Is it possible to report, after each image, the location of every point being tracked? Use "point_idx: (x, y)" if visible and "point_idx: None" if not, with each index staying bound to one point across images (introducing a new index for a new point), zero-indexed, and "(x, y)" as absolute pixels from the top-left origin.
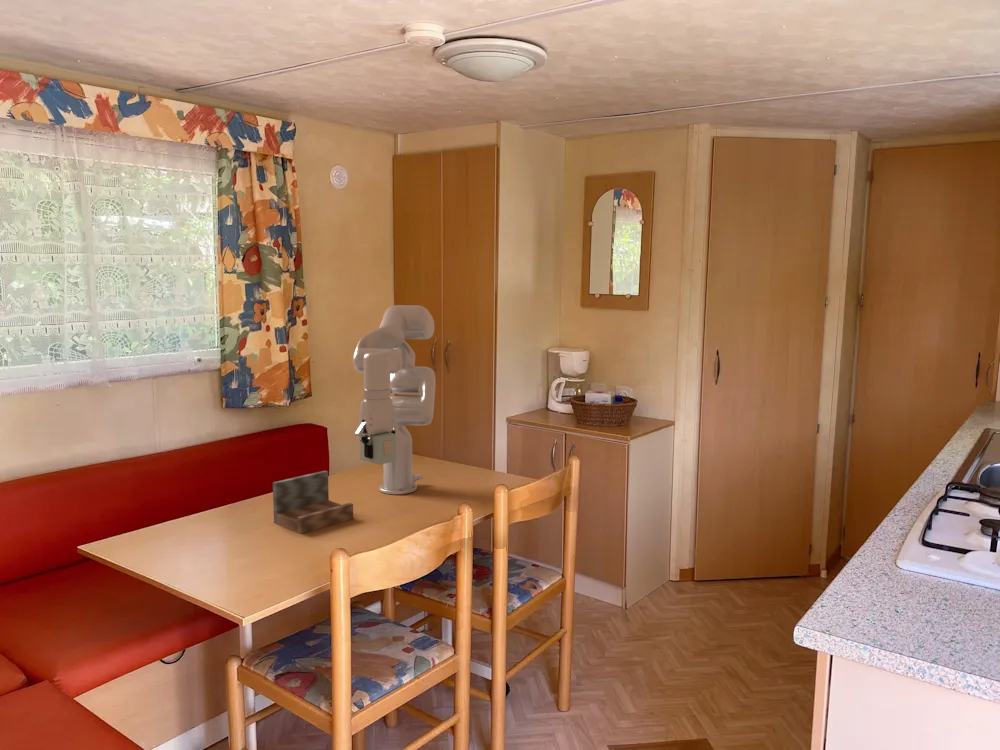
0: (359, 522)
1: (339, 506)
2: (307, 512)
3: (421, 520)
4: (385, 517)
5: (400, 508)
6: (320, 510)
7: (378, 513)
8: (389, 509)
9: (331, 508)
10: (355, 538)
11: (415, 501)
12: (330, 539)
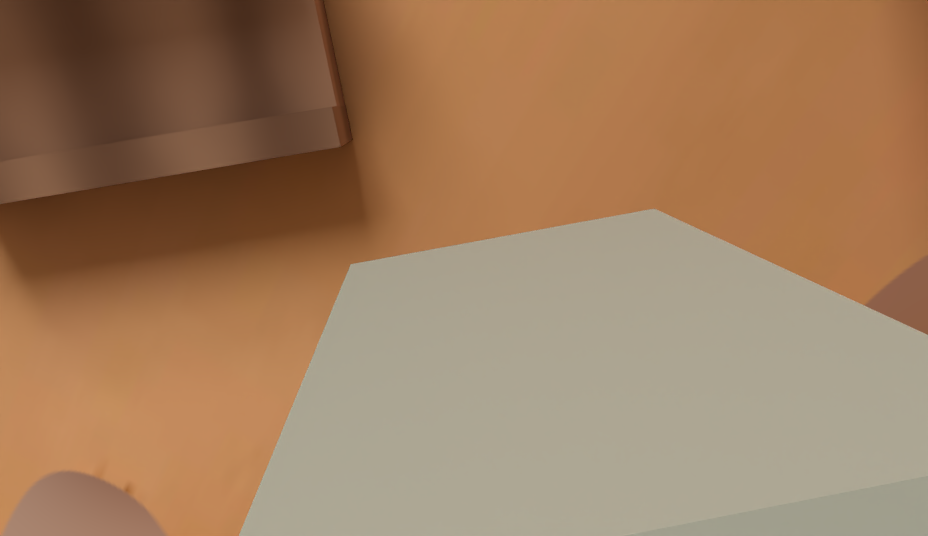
0: (359, 210)
1: (231, 141)
2: (24, 18)
3: None
4: (523, 220)
5: (685, 127)
6: (127, 35)
7: (530, 131)
8: (624, 103)
9: (161, 151)
10: (233, 413)
11: (839, 60)
12: (111, 359)
